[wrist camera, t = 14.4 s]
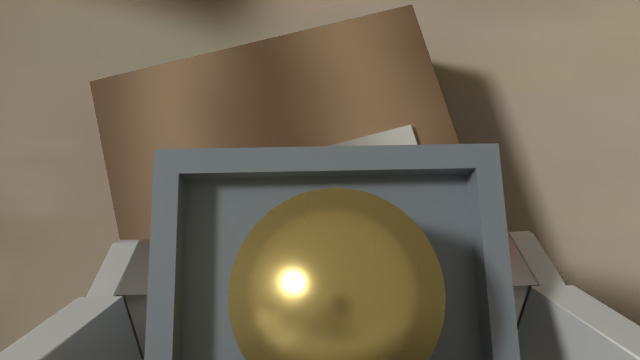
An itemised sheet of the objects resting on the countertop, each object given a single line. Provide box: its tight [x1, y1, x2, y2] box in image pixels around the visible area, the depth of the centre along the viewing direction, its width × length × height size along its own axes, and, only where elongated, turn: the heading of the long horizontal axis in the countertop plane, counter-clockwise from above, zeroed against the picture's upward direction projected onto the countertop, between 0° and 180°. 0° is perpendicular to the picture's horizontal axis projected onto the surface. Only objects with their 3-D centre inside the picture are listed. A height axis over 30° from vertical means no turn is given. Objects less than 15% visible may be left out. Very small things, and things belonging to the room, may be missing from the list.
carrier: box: [144, 143, 520, 360], centre depth 11 cm, size 6×4×8 cm
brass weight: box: [228, 188, 446, 360], centre depth 7 cm, size 3×3×2 cm
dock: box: [90, 5, 459, 240], centre depth 18 cm, size 12×17×4 cm
